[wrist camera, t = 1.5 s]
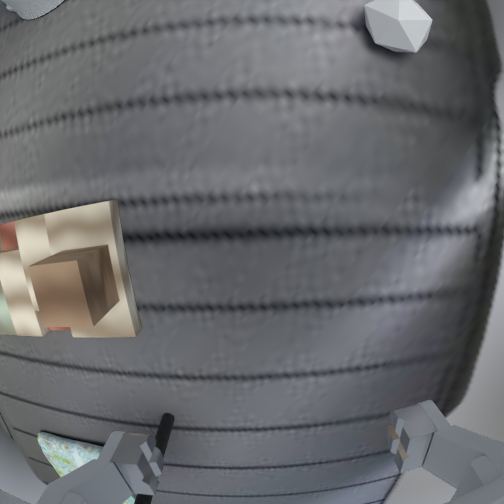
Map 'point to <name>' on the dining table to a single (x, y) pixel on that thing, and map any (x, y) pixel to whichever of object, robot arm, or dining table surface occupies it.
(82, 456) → the towel
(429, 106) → the dining table surface
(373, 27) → the die
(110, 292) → the walnut block
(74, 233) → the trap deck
